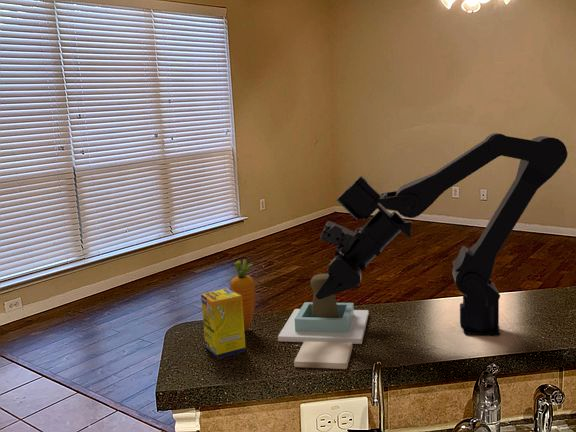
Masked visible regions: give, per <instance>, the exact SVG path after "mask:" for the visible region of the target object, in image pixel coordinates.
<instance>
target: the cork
mask: <svg viewBox="0 0 576 432" xmlns="http://www.w3.org/2000/svg"><path fill="white" fill-rule="evenodd" d="M328 276H329V274H327V273H318V274H315V275H313V276H312V277H311V280H310V287H311V290H312V292H313V298H312V299H313V300H312V301H313V308H312V317H314V318H339V315H338V309H337V304H336V303H337V298H336V294H334V295H331V296H328V297H325V298H323V299H320V300H319V299H318V298H316V294H317V292H318V291H319V289H320V288H321V286H322V285H323V283H324V282H325V281H326V279H327V278H328Z"/></svg>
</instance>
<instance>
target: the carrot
mask: <svg viewBox="0 0 576 432" xmlns="http://www.w3.org/2000/svg"><path fill="white" fill-rule="evenodd" d="M242 261H243V262H242ZM242 261H241V260H237V261H236V262H235V263H234V264H233V265H234V267H235V268H236V273H237V276H234V277H233V278H231V279H230V283H229V285H230V286H229V287H230V289H231V290H232V291H234V292H235V293H237V294H239V295H241V296H242V302H243V317H244V331H246V330H247V331H248V330H249V329H250V326H251V324H252V322H253V318H254V313H255V308H256V307H255V306H256V284H255V283H256V281H255V279H254V278H253V277H251V276H250V275H247V273H248V271H249V270H250V269H251V268H252V267H254V264H253V263H249V264H248V265H247V261H248V260H247V259H243V260H242ZM247 331H246V332H247Z"/></svg>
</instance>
